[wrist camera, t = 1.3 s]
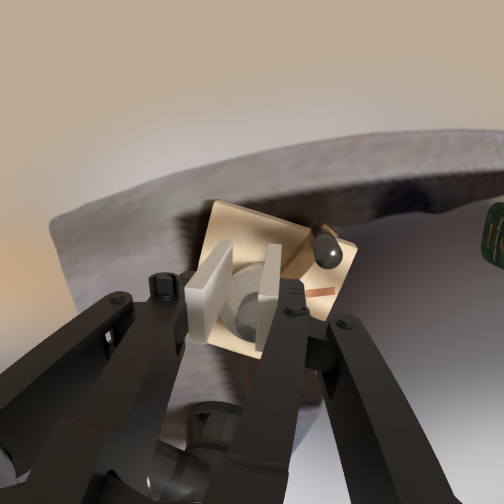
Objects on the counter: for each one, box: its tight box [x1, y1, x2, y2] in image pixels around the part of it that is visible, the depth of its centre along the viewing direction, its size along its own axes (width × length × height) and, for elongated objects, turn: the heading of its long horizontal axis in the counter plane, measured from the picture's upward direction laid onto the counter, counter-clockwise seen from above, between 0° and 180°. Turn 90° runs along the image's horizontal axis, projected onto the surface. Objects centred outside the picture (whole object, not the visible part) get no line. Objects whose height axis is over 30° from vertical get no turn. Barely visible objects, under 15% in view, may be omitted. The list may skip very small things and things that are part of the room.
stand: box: [187, 200, 357, 359], centre depth 37 cm, size 20×18×2 cm
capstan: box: [219, 219, 343, 343], centre depth 31 cm, size 18×10×8 cm, turn 143°
